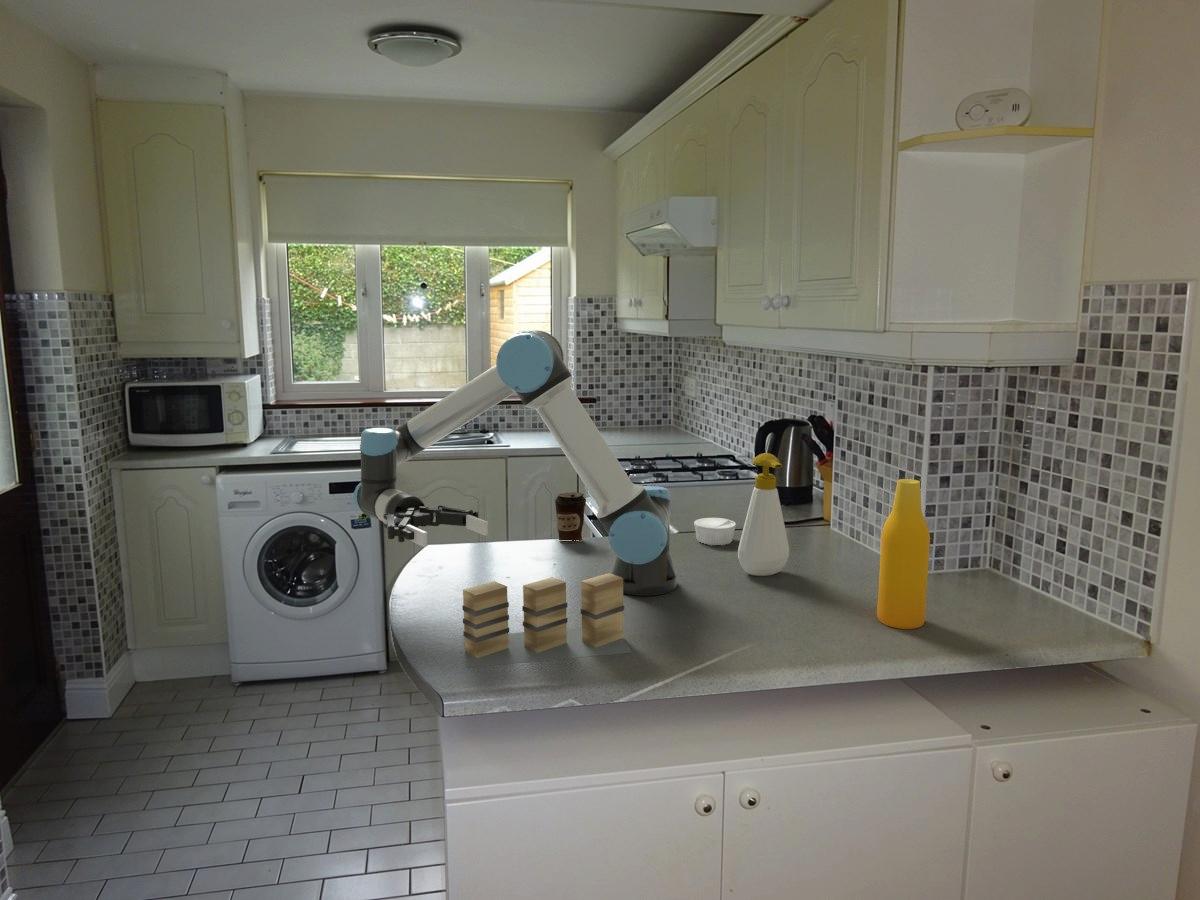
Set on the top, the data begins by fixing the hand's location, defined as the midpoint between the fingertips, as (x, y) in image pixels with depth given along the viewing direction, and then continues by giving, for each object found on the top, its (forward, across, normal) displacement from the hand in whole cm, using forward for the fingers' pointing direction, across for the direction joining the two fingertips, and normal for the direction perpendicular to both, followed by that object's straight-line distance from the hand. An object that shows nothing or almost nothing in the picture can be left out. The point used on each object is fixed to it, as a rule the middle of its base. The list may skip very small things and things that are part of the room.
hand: (456, 534), depth 162 cm
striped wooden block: (+11, 0, -20) cm, 22 cm away
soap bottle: (+18, -74, -18) cm, 79 cm away
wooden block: (+16, -10, -19) cm, 27 cm away
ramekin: (-9, -88, -18) cm, 90 cm away
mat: (+16, -10, -20) cm, 27 cm away
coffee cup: (-36, -60, -20) cm, 72 cm away
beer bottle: (+55, -70, -16) cm, 91 cm away
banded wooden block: (+22, -19, -19) cm, 34 cm away
